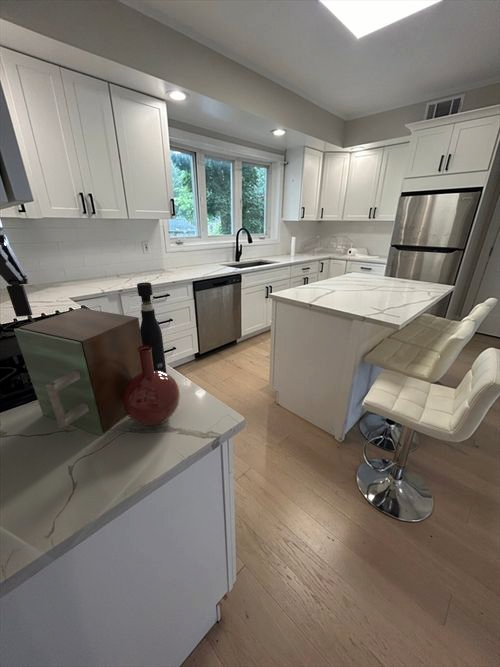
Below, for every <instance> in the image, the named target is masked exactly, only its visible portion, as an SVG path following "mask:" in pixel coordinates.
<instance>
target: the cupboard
mask: <svg viewBox="0 0 500 667" xmlns="http://www.w3.org/2000/svg"><path fill="white" fill-rule="evenodd" d="M139 319H140V318H139V317H138V316H132V315H126V314H120V313H115V312H109V311H108V312H107V311H101V310H95V309H89V308H83V307H80V308H76V309H73V310H71V311H67V312H64V313H61V314H57V315H54V316H51V317H47V318H45V319H41V320H37V321H35V322H31V323H28V324H24V325H22V326H18V329H23V330H27V331H32V332H36V333H41V334H45V335H50V336H54V337H59V338H63V339H68V340H72V341H77V342H81V344H82V349H83V353H84V357H85V361H86V365H87V369H88V373H89V377H90V381H91V385H92V389H93V393H94V397H95V401H96V405H97V409H98V413H99V417H100V421H101V425H102V429H103V433H104V434H106V433H107V432H108V431H110V430H111V429H112V428H113V427H114V426H116V425H117V424H118V423H120V422H121V421H122V420H123V419H125V418H126V417H128V415H127V413H126V412H125V410H124V407H123V393H124V390H125V388H126V386H127V384H128V383H129V381H130V380H131V379H132V378H133V377H135V376H136V375H138V374H139V373H141V372H142V366H141V360H140V354H139V352H138V348H139V347H140V346H143V344H142V338H141V331H140V327H141V324H140V320H139Z"/></svg>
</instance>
